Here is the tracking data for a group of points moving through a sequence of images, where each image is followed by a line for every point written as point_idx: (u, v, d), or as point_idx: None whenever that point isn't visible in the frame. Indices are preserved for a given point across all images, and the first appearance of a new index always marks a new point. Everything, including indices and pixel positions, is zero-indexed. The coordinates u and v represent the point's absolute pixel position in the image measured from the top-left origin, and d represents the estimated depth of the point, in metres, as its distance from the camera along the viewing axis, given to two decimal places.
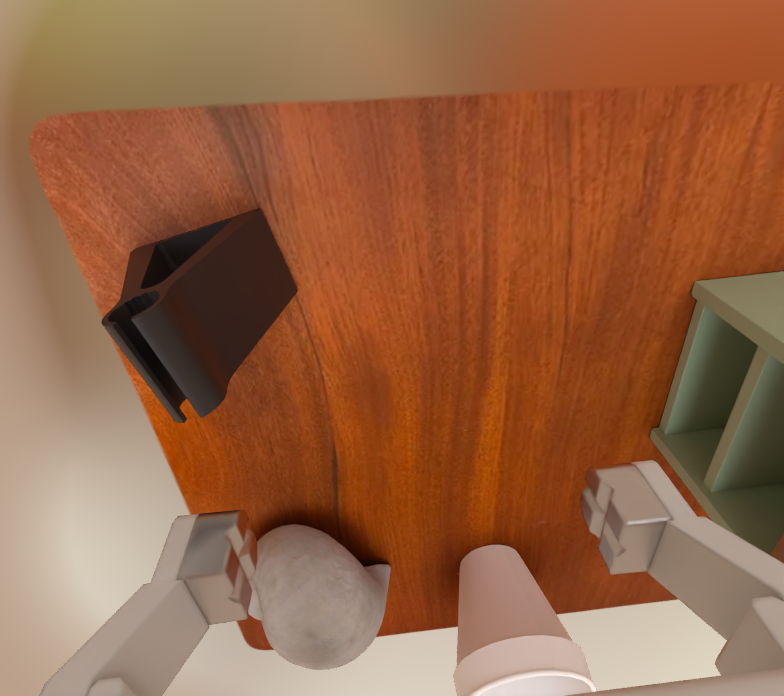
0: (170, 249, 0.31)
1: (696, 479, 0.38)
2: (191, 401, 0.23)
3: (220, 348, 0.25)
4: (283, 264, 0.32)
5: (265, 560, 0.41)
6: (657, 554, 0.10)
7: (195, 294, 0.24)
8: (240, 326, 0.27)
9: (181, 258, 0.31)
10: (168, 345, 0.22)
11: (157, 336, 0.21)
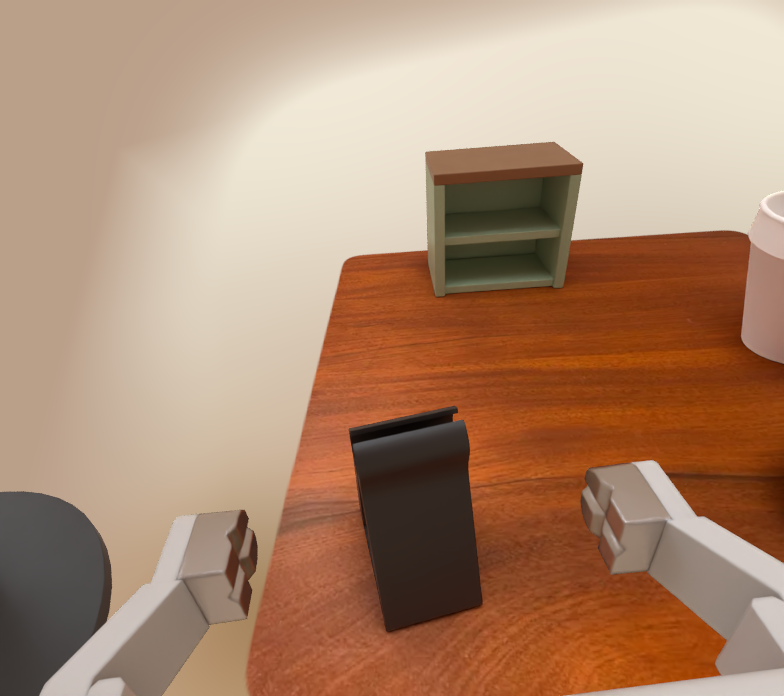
0: None
1: (559, 241, 0.56)
2: (438, 411, 0.26)
3: None
4: None
5: None
6: (657, 554, 0.10)
7: None
8: None
9: None
10: None
11: (371, 424, 0.26)
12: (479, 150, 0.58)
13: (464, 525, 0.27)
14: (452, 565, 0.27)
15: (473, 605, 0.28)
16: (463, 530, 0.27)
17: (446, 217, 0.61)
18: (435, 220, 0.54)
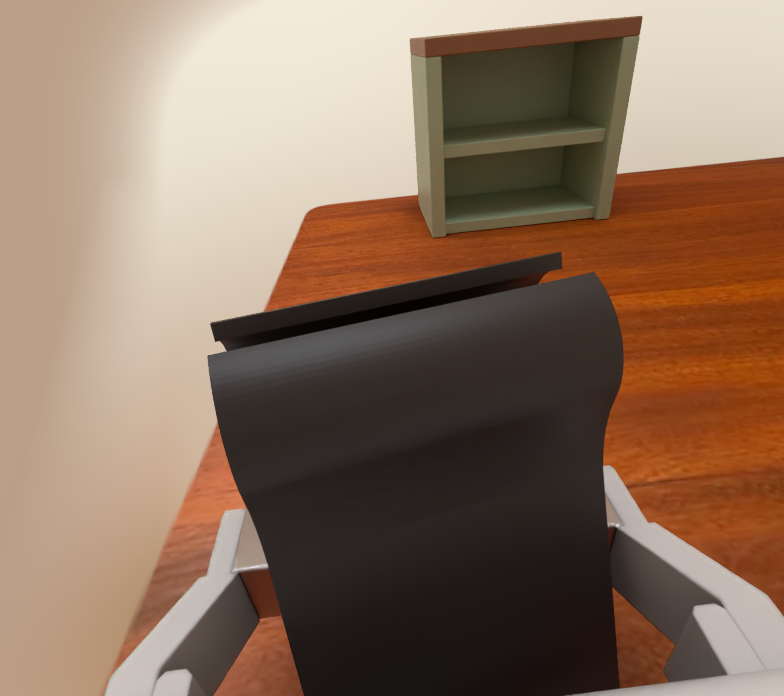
0: None
1: (605, 146, 0.40)
2: (502, 263, 0.08)
3: None
4: None
5: None
6: (610, 560, 0.10)
7: None
8: None
9: None
10: None
11: None
12: None
13: (588, 616, 0.09)
14: None
15: None
16: (585, 631, 0.09)
17: None
18: (429, 115, 0.37)
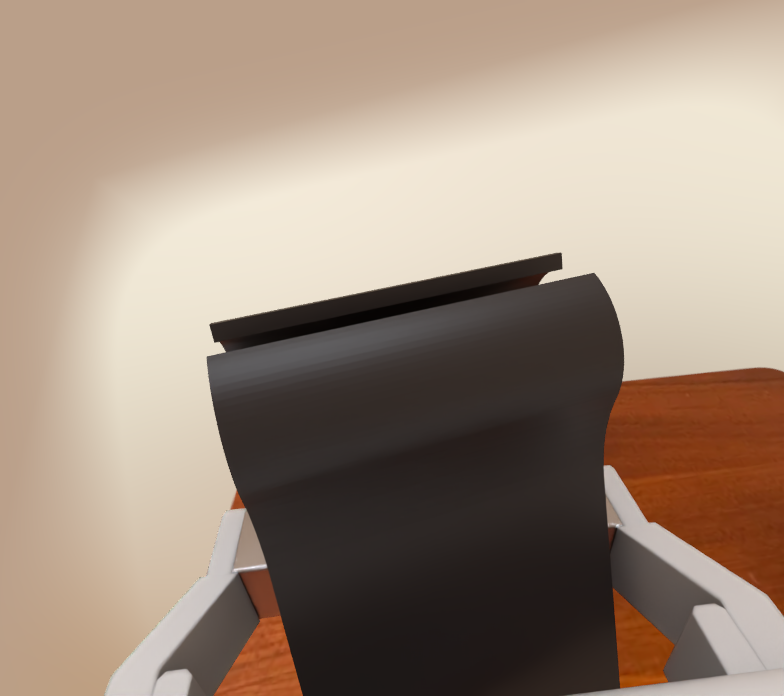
0: None
1: None
2: (503, 264, 0.08)
3: None
4: None
5: None
6: (610, 560, 0.10)
7: None
8: None
9: None
10: None
11: None
12: None
13: (588, 617, 0.09)
14: None
15: None
16: (585, 632, 0.09)
17: None
18: None
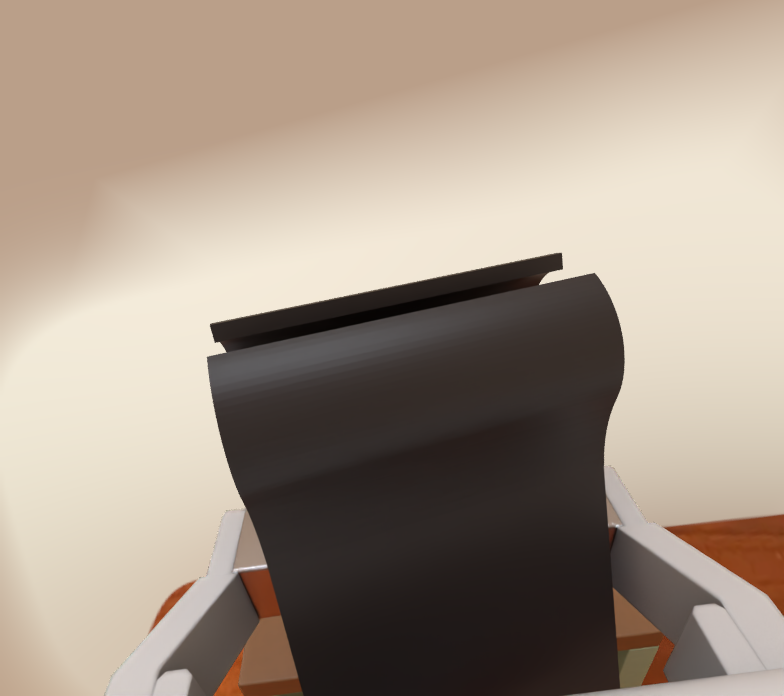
0: None
1: None
2: (503, 264, 0.08)
3: None
4: None
5: None
6: None
7: None
8: None
9: None
10: None
11: None
12: None
13: (588, 618, 0.09)
14: None
15: None
16: (585, 632, 0.09)
17: None
18: None
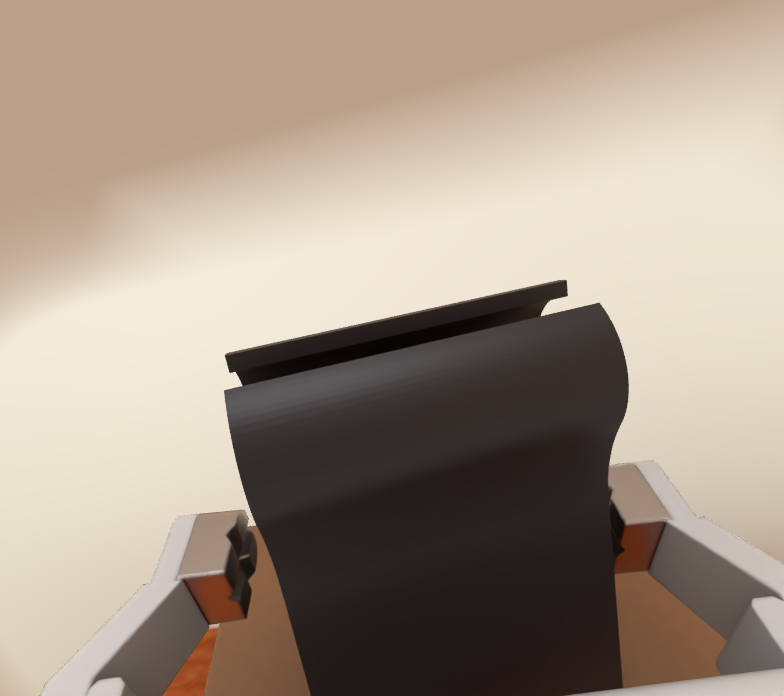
0: None
1: None
2: (509, 292, 0.08)
3: None
4: None
5: None
6: (657, 554, 0.10)
7: None
8: None
9: None
10: None
11: None
12: None
13: (593, 635, 0.09)
14: None
15: None
16: (590, 649, 0.09)
17: None
18: None
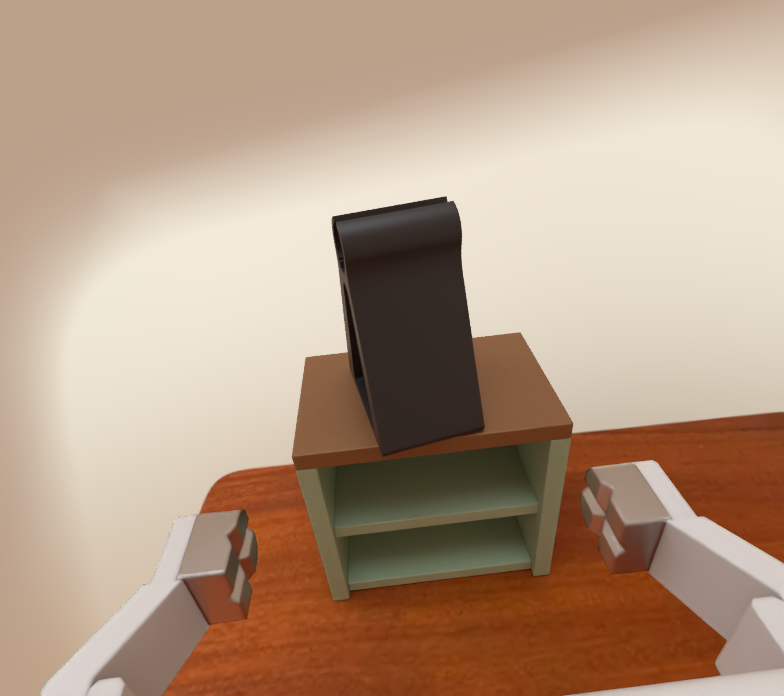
0: None
1: (538, 520, 0.32)
2: (426, 200, 0.24)
3: None
4: None
5: None
6: (657, 554, 0.10)
7: None
8: None
9: None
10: None
11: None
12: None
13: (460, 330, 0.25)
14: (450, 377, 0.26)
15: (475, 428, 0.26)
16: (460, 336, 0.25)
17: None
18: (310, 514, 0.29)
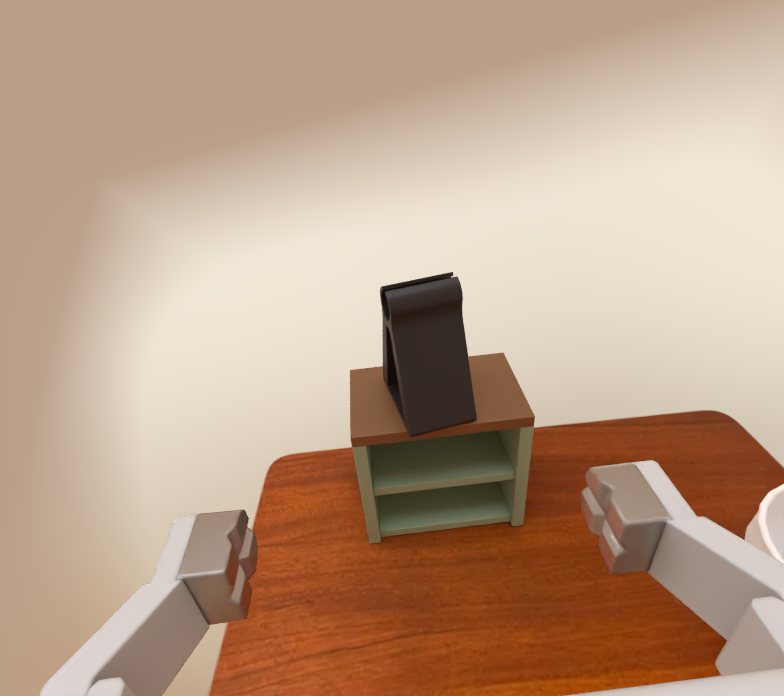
0: None
1: (514, 484, 0.46)
2: None
3: None
4: None
5: None
6: (657, 554, 0.10)
7: None
8: None
9: None
10: None
11: None
12: None
13: (461, 356, 0.39)
14: (454, 386, 0.40)
15: (470, 419, 0.41)
16: (461, 360, 0.39)
17: None
18: (359, 478, 0.43)
